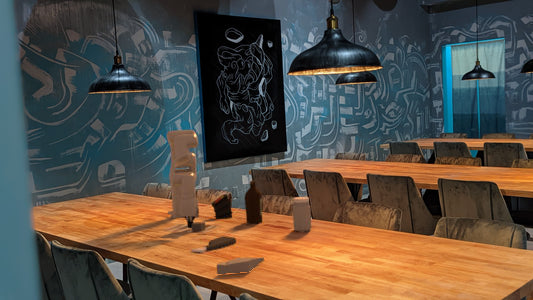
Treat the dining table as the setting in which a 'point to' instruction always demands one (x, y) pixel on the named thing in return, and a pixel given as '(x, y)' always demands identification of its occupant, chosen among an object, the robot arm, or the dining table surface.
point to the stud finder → (198, 226)
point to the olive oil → (253, 204)
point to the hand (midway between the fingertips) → (190, 227)
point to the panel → (185, 228)
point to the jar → (301, 214)
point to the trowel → (238, 265)
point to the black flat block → (222, 207)
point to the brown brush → (216, 244)
